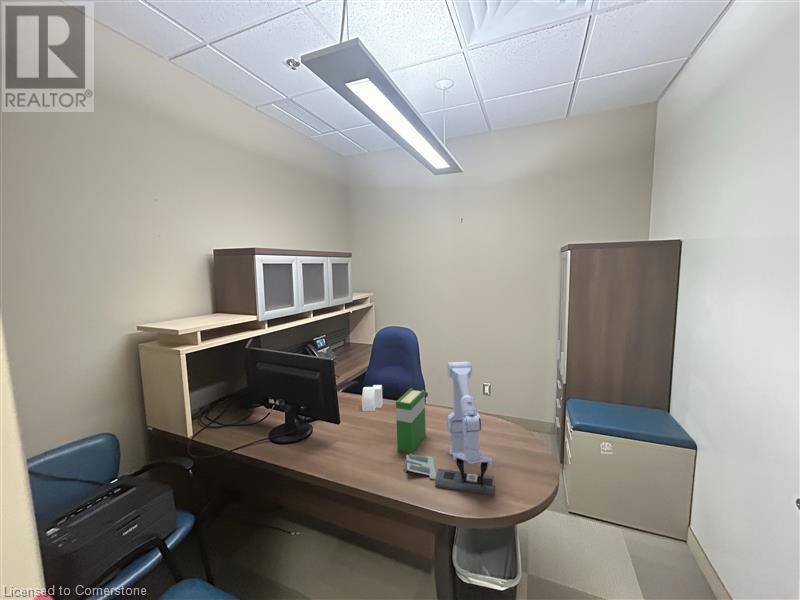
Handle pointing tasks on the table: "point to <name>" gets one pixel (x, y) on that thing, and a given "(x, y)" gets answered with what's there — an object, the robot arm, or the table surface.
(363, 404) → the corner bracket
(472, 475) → the cube with square inset
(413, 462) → the metal bracket
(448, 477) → the rail
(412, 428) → the hardback book
